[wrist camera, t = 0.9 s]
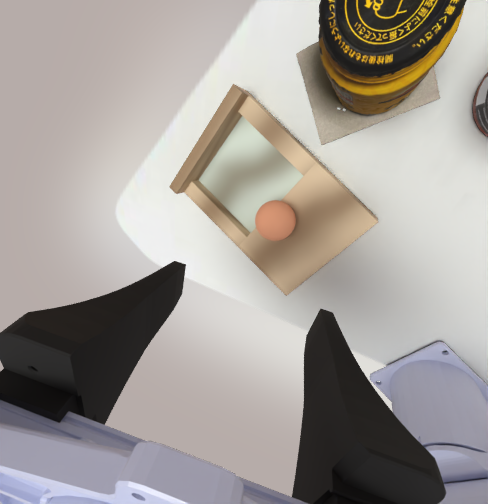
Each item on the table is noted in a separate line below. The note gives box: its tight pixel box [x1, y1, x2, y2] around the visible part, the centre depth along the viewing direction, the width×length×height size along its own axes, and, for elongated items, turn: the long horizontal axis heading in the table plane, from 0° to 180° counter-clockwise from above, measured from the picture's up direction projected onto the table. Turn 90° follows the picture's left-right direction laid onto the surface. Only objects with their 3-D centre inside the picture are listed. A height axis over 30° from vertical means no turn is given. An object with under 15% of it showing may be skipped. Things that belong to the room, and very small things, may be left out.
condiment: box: [296, 0, 466, 145], centre depth 15 cm, size 7×8×12 cm
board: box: [170, 84, 378, 296], centre depth 25 cm, size 16×11×3 cm
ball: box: [255, 200, 296, 241], centre depth 23 cm, size 4×4×4 cm
